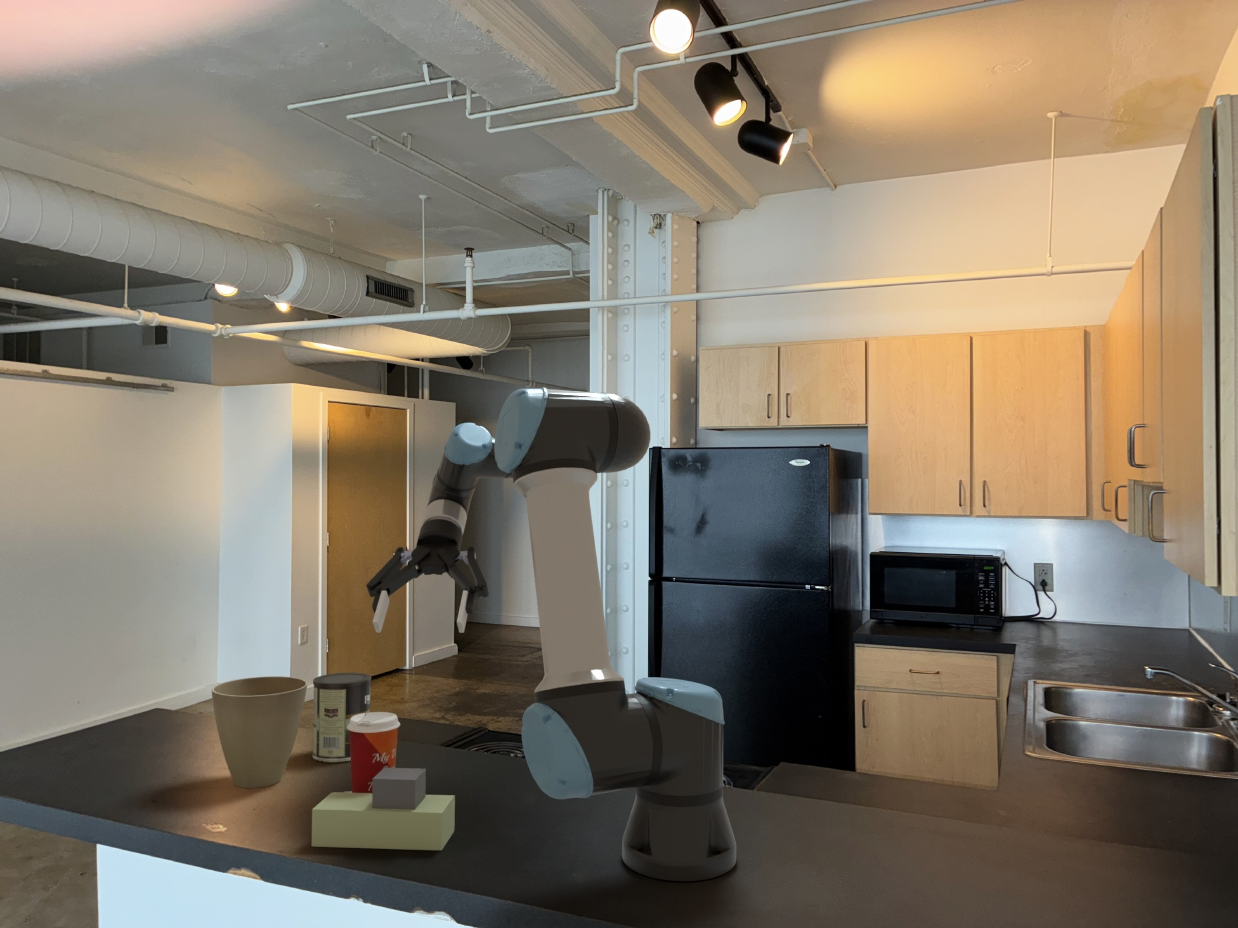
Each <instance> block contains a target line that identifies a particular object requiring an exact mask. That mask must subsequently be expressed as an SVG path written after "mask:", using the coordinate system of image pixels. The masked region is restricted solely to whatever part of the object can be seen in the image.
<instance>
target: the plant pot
mask: <svg viewBox="0 0 1238 928" xmlns="http://www.w3.org/2000/svg"><path fill="white" fill-rule="evenodd" d="M307 689H308V682H307V680H304V679H303V678H299V677H293V676H278V675H277V676H275V675H274V676H272V675H271V676H255V677H253V676H252V677H246V678H239V679H234V680H233V679H232V680H227V681H223V682H221V683H220V682H219V683H218V684H216V685H214V686H213V687H211V696H212V698H211V699H212V704H213V712H214V719H215V724H216V730H217V734H218V738H219V742H220V747H221V750H222V753H223V757H224V759H225V762H226V765H227V767H228V768H227V769H228V772H229V774H230V777H231V779H232V781H233V784H234V785H235V786H236V787H239V788H243V789H249V788H250V789H256V788H257V789H258V788H264V787H269V786H271V785H275V784H277V783H279V782H280V781H281V780H282V779H283V776H284V774H285V771H286V768H287V765H288V763H289V760H290V757H291V755H292V752H293V749H294V746H295V743H296V739H297V735H298V732H299V728H300V725H301V721H302V717H303V710H304V706H305V701H306V694H307Z"/></svg>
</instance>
